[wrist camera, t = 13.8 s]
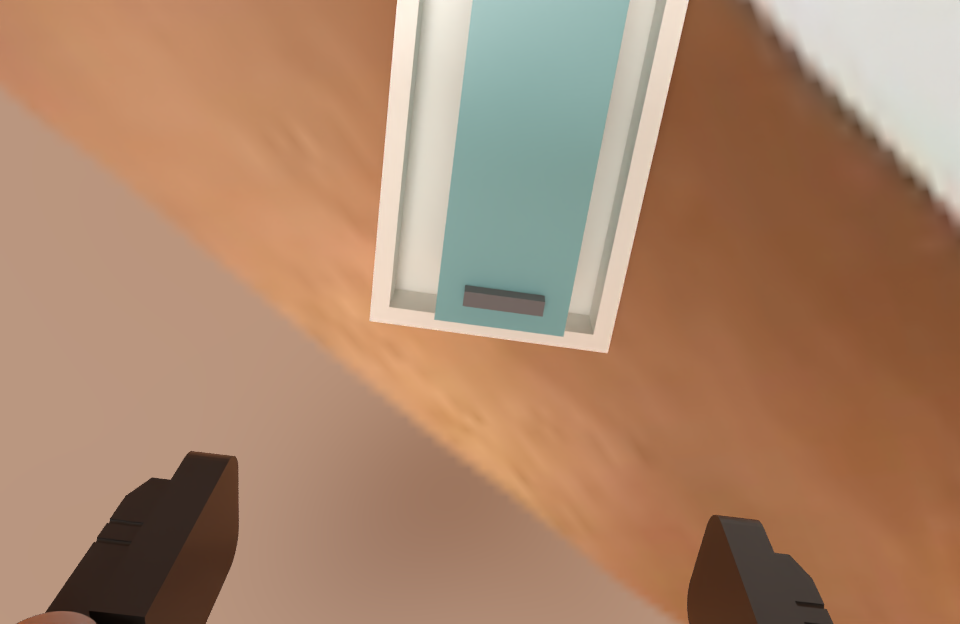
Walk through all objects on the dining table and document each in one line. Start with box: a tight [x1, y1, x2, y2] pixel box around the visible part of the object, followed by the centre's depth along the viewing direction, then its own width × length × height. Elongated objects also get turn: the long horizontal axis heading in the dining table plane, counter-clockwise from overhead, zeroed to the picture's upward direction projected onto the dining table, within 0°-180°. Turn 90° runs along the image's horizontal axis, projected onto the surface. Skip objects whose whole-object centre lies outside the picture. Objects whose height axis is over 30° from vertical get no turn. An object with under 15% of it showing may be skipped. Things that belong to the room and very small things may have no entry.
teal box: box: [434, 0, 630, 337], centre depth 31 cm, size 5×13×7 cm, turn 172°
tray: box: [370, 0, 689, 353], centre depth 33 cm, size 11×18×3 cm, turn 172°
